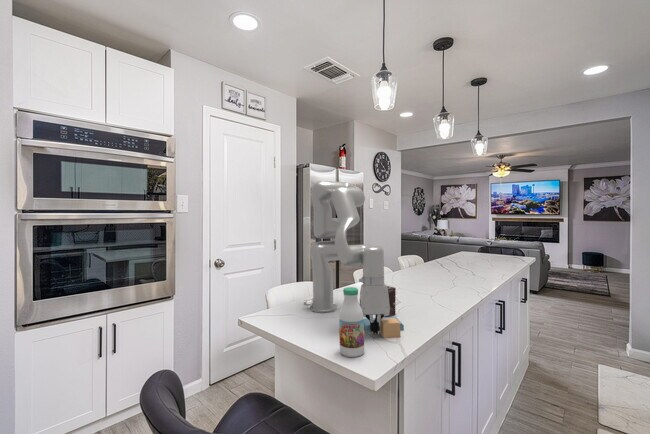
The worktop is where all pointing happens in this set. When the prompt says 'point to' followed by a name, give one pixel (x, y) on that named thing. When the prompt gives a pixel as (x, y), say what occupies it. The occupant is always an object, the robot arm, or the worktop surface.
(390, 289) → the box
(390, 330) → the tan block
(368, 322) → the blue flat block
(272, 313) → the worktop surface
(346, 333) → the milk bottle
